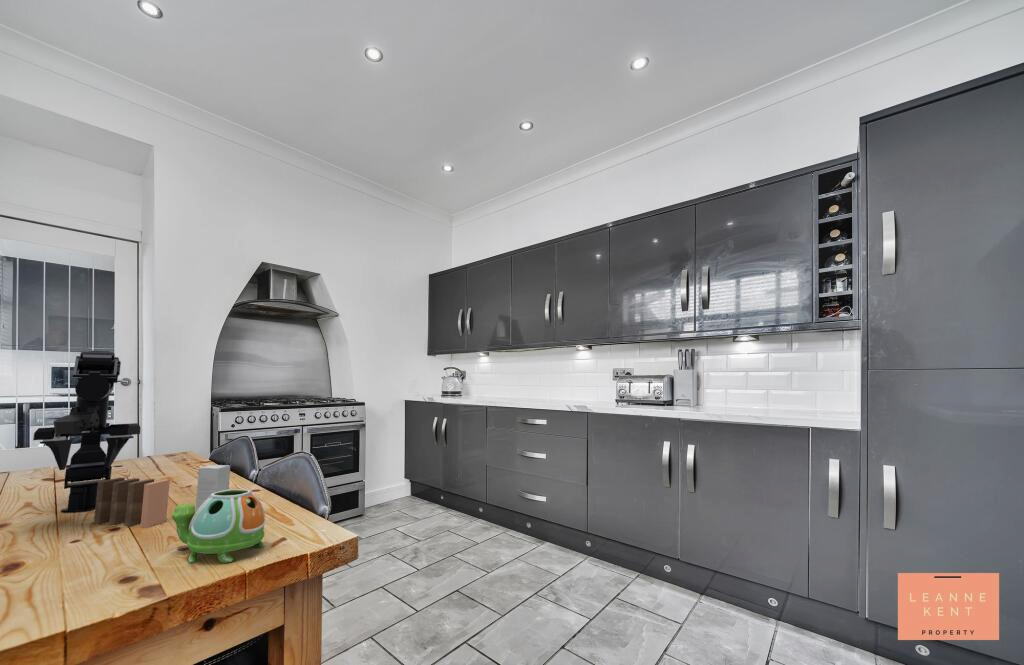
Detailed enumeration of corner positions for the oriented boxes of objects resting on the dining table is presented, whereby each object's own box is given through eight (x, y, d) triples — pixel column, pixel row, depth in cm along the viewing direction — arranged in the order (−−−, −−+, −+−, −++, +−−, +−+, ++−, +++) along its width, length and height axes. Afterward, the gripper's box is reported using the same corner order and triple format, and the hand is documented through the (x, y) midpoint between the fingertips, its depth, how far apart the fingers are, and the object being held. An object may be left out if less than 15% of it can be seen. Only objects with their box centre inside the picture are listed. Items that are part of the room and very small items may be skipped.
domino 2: (108, 525, 104) (113, 482, 106) (130, 519, 109) (134, 478, 110) (114, 525, 104) (118, 482, 105) (135, 519, 109) (139, 478, 110)
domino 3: (124, 526, 104) (128, 483, 105) (145, 520, 108) (149, 478, 110) (130, 526, 103) (134, 483, 104) (150, 520, 108) (154, 479, 109)
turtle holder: (196, 540, 95) (201, 484, 96) (276, 542, 94) (280, 485, 95) (145, 564, 82) (151, 499, 84) (237, 566, 81) (241, 501, 83)
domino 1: (93, 524, 105) (98, 481, 106) (115, 518, 110) (119, 477, 111) (99, 524, 105) (103, 482, 106) (120, 518, 110) (124, 477, 111)
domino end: (140, 527, 103) (144, 484, 104) (160, 521, 108) (164, 479, 109) (145, 528, 103) (150, 484, 104) (166, 521, 107) (169, 479, 109)
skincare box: (228, 510, 116) (231, 465, 118) (215, 515, 112) (219, 468, 113) (207, 510, 117) (210, 464, 118) (194, 514, 113) (197, 467, 114)
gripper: (17, 403, 97) (7, 476, 94) (116, 400, 101) (108, 469, 98) (56, 404, 107) (48, 470, 105) (144, 401, 112) (138, 463, 109)
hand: (85, 468), depth 104 cm, fingers open, 9 cm apart
